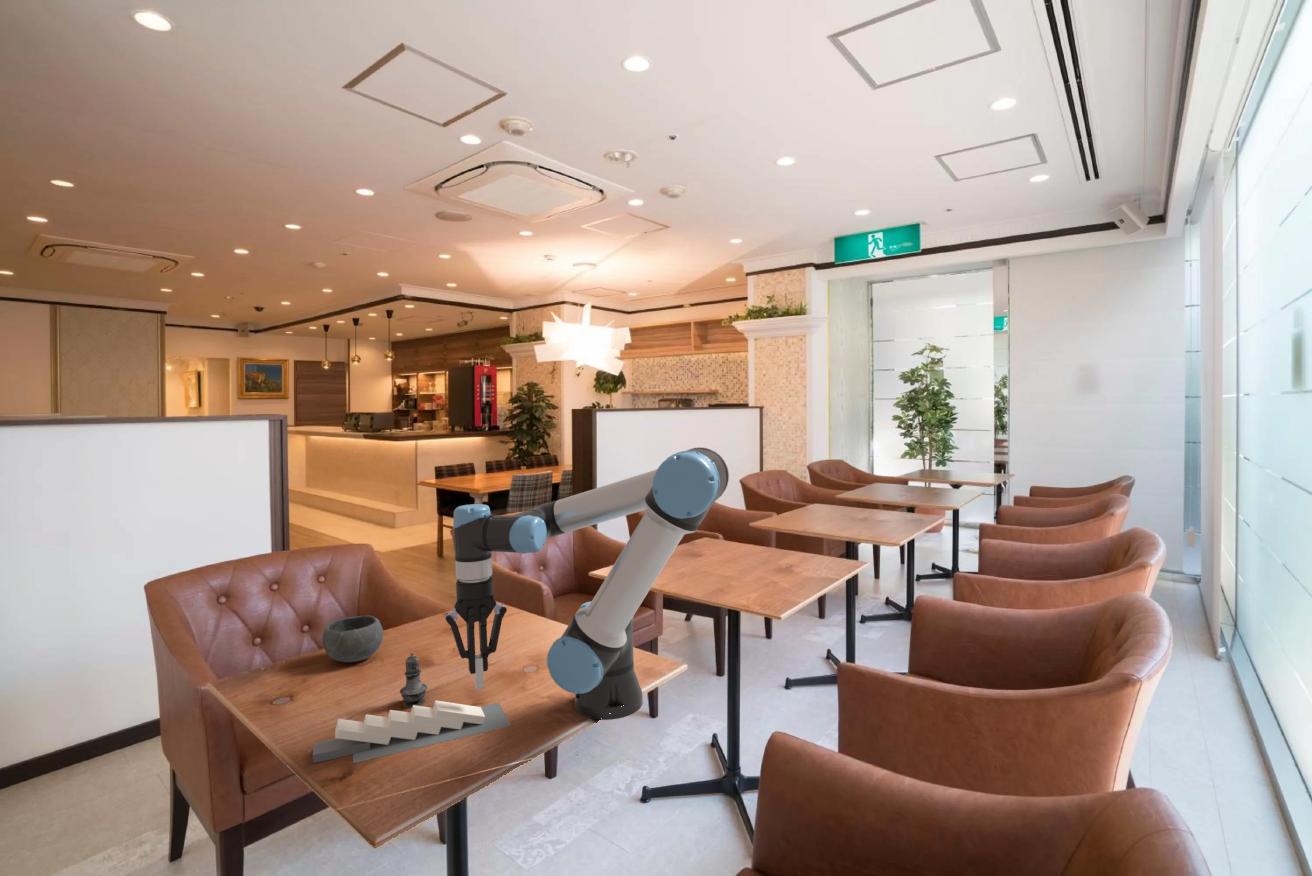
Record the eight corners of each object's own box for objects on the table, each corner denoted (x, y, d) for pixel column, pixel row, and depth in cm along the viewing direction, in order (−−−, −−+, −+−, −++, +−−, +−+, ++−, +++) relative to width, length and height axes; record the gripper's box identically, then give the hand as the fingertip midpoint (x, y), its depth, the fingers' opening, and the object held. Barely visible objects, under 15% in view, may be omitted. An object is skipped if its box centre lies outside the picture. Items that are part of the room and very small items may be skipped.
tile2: (459, 711, 140) (413, 705, 136) (463, 721, 136) (415, 715, 132) (457, 719, 140) (410, 712, 136) (460, 729, 136) (412, 723, 132)
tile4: (415, 721, 137) (366, 714, 132) (417, 732, 132) (366, 725, 128) (412, 729, 136) (363, 722, 132) (414, 740, 132) (363, 733, 128)
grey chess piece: (401, 712, 145) (398, 659, 144) (400, 701, 150) (397, 650, 150) (429, 706, 147) (426, 654, 147) (426, 696, 153) (424, 646, 152)
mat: (499, 704, 147) (499, 702, 147) (510, 727, 137) (510, 726, 137) (353, 736, 135) (353, 734, 135) (353, 765, 124) (353, 763, 124)
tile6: (369, 731, 133) (314, 743, 129) (369, 742, 128) (312, 755, 124) (369, 738, 133) (314, 751, 129) (370, 750, 128) (313, 763, 124)
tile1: (480, 707, 142) (435, 700, 138) (485, 717, 138) (438, 710, 134) (478, 714, 142) (432, 707, 138) (482, 724, 138) (435, 718, 133)
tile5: (389, 725, 134) (338, 718, 130) (390, 736, 130) (338, 729, 126) (386, 733, 134) (335, 726, 130) (388, 744, 130) (335, 738, 126)
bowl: (389, 660, 175) (388, 624, 174) (328, 675, 166) (326, 636, 166) (378, 644, 187) (376, 610, 187) (320, 657, 179) (318, 621, 178)
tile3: (438, 716, 138) (390, 709, 134) (441, 727, 134) (391, 720, 130) (435, 724, 138) (387, 717, 134) (438, 734, 134) (388, 728, 130)
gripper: (501, 569, 144) (505, 674, 146) (440, 578, 139) (445, 686, 140) (509, 577, 137) (513, 687, 139) (444, 586, 132) (450, 700, 133)
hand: (479, 686), depth 139 cm, fingers closed
